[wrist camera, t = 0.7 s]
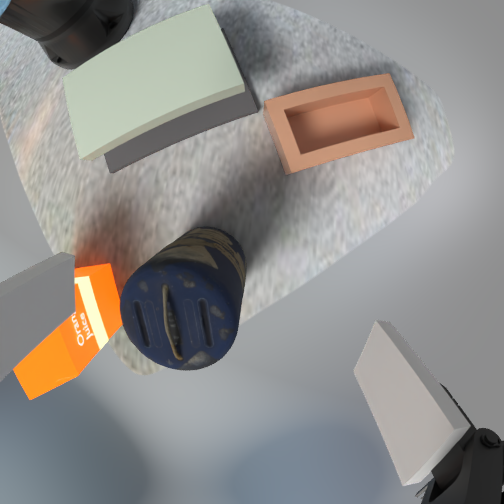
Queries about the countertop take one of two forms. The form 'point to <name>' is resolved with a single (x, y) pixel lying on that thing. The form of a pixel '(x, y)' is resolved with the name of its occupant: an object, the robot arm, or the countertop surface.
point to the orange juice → (74, 333)
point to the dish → (336, 121)
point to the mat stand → (183, 126)
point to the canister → (187, 300)
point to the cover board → (149, 81)
